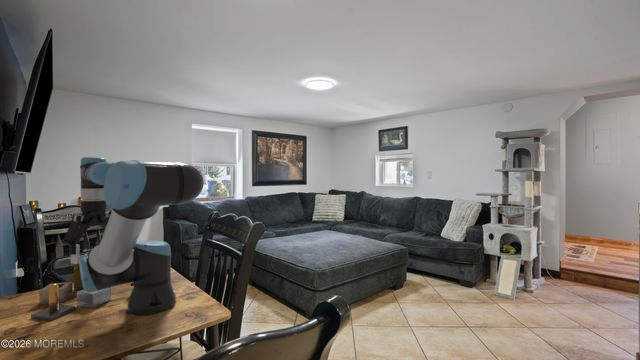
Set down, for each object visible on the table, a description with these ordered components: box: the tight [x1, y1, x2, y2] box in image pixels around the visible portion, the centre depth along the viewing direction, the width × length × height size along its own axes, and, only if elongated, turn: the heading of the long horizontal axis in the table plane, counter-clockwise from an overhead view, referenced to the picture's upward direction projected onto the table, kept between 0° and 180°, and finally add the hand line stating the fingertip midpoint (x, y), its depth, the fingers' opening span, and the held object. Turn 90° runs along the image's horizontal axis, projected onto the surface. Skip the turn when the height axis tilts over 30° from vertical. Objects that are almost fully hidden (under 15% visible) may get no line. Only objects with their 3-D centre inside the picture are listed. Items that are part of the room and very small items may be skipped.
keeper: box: [30, 283, 77, 322], centre depth 100 cm, size 8×8×10 cm
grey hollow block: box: [76, 287, 112, 309], centre depth 108 cm, size 7×7×5 cm
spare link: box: [39, 281, 73, 305], centre depth 111 cm, size 7×7×5 cm
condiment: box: [72, 264, 84, 293], centre depth 121 cm, size 7×8×12 cm
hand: (94, 258), depth 108 cm, fingers open, 13 cm apart
